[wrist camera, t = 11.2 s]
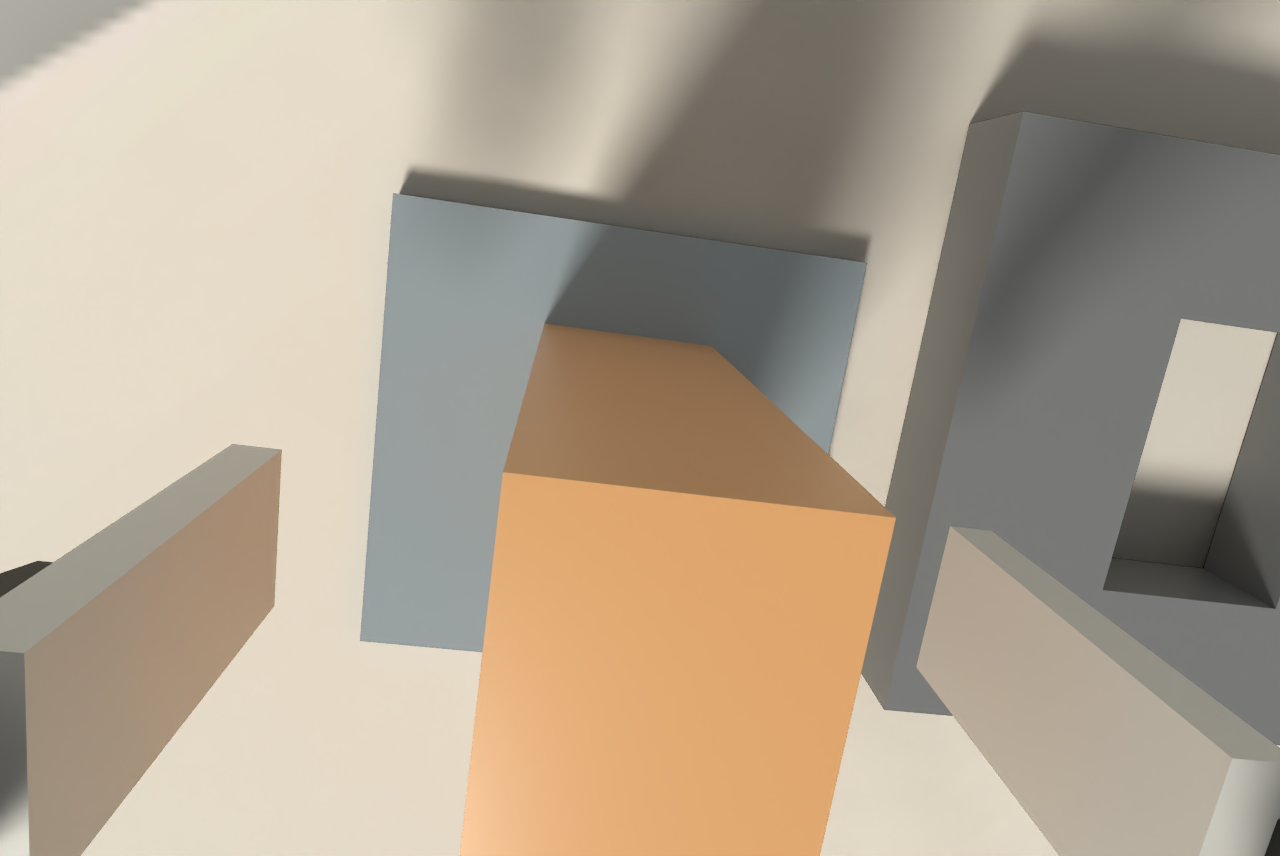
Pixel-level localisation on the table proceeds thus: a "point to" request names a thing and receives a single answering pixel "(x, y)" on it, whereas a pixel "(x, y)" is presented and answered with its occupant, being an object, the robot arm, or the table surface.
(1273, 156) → the gray slotted square plate
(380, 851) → the table surface
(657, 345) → the plug
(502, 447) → the rubber mat
